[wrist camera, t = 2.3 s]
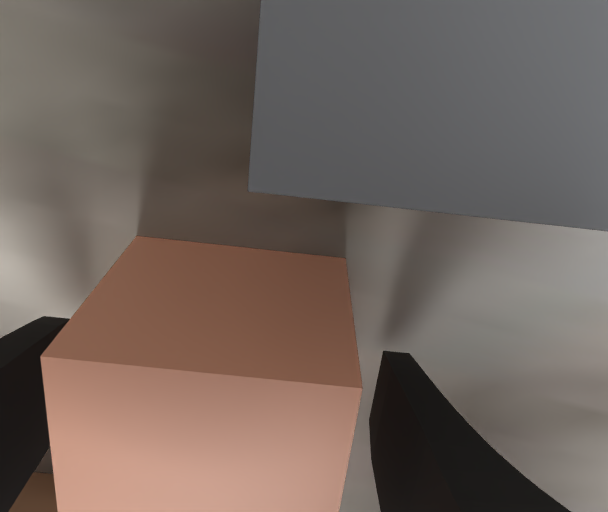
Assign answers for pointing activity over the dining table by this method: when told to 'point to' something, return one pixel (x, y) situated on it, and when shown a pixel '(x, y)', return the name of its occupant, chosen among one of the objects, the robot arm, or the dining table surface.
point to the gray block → (436, 106)
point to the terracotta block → (205, 383)
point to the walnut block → (37, 495)
